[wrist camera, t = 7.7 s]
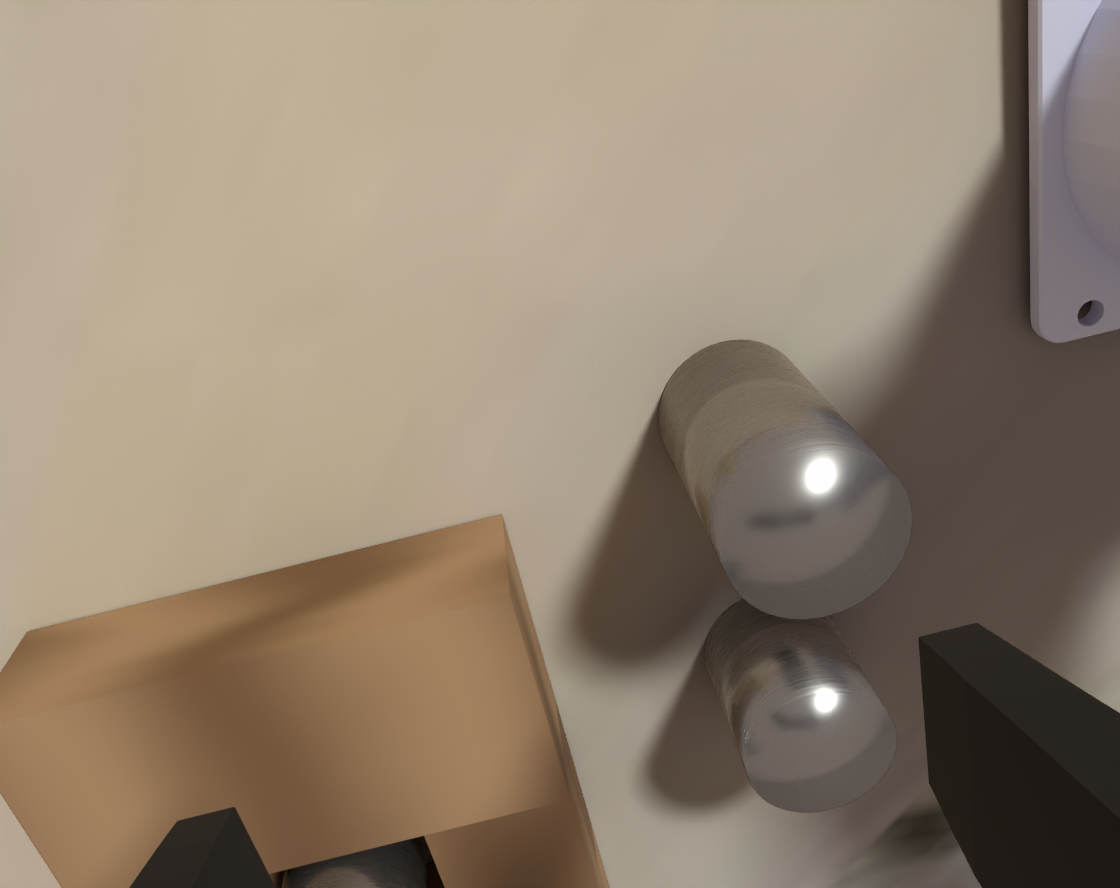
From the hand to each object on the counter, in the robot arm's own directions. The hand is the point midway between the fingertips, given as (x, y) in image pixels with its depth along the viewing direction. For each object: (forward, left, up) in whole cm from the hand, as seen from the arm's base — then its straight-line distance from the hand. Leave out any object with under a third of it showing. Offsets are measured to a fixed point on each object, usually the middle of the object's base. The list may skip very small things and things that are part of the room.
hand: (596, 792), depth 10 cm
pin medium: (-4, +1, -10) cm, 11 cm away
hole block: (+6, +9, -10) cm, 15 cm away
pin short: (-4, +7, -10) cm, 13 cm away
